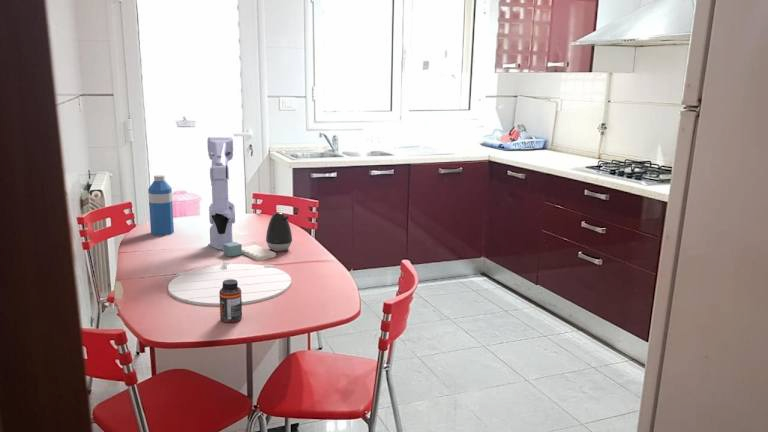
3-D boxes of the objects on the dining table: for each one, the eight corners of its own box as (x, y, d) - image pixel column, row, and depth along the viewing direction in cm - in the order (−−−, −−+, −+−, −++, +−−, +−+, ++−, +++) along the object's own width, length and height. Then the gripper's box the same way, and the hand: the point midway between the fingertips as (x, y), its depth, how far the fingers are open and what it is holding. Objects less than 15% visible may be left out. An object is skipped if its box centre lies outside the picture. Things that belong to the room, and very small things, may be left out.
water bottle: (150, 231, 262) (146, 174, 256) (172, 229, 266) (169, 173, 260) (151, 236, 253) (148, 178, 248) (175, 234, 257) (172, 177, 252)
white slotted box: (237, 251, 235) (237, 247, 234) (255, 248, 240) (255, 244, 240) (257, 260, 224) (257, 256, 224) (275, 256, 229) (275, 252, 229)
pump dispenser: (279, 254, 232) (278, 216, 228) (260, 249, 238) (260, 212, 235) (297, 249, 240) (297, 212, 236) (279, 244, 246) (279, 208, 243)
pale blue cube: (223, 253, 230) (223, 243, 230) (235, 251, 234) (234, 241, 233) (230, 256, 227) (229, 246, 226) (241, 254, 230) (241, 244, 229)
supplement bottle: (217, 317, 170) (216, 279, 167) (238, 313, 173) (237, 276, 171) (224, 325, 165) (222, 286, 163) (245, 321, 168) (244, 282, 166)
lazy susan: (166, 271, 210) (166, 262, 209) (278, 262, 223) (278, 253, 223) (170, 313, 173) (169, 302, 173) (303, 299, 187) (303, 288, 186)
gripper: (201, 196, 224) (202, 231, 227) (220, 202, 213) (221, 239, 216) (218, 194, 228) (219, 228, 231) (237, 200, 218) (238, 236, 221)
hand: (221, 233), depth 224 cm, fingers closed
